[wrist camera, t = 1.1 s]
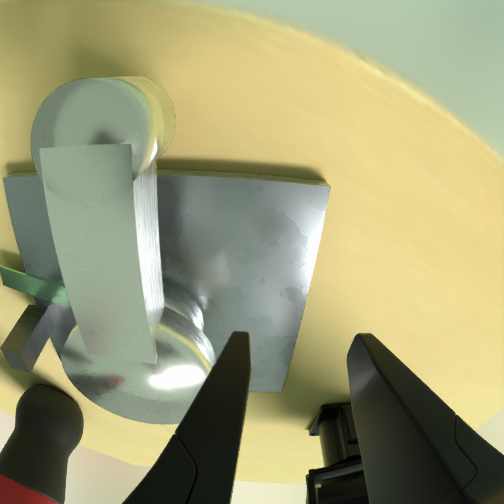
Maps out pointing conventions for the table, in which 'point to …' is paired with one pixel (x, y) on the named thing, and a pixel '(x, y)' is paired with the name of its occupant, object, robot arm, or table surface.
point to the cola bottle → (40, 447)
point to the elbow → (116, 247)
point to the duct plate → (191, 262)
